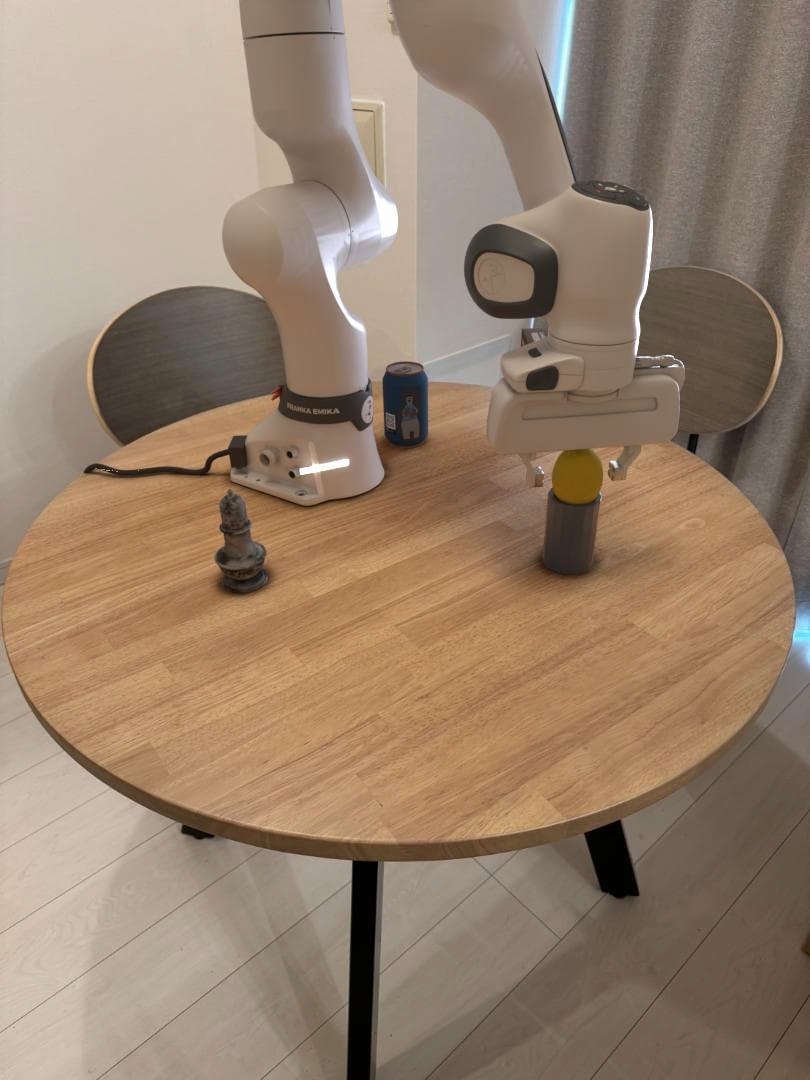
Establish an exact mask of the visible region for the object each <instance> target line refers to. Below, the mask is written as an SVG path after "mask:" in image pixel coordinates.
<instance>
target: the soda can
mask: <svg viewBox="0 0 810 1080" xmlns="http://www.w3.org/2000/svg"><path fill="white" fill-rule="evenodd" d="M381 383H382V400H383V401H382V405H383V406H382V407H383V408H382V409H383V428H384V429H383V431H384V433H383V434H384V436H385V439H386V440H387V441H388V443H389V444H390V445H391V446H392V447H395V448H398V449H399V448H400V449H411V448H412V449H413V448H417V447H419V446H421V445H422V444H424V442H425V441H426V439H427V437H428V435H429V377H428V374H426V371H425V367H424V365H423V364H421V363H419V362H416V361H415V362H414V361H396V362H392V363H389V364H388V365H386V367H385V372H384V374H383V377H382V382H381Z"/></svg>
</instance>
